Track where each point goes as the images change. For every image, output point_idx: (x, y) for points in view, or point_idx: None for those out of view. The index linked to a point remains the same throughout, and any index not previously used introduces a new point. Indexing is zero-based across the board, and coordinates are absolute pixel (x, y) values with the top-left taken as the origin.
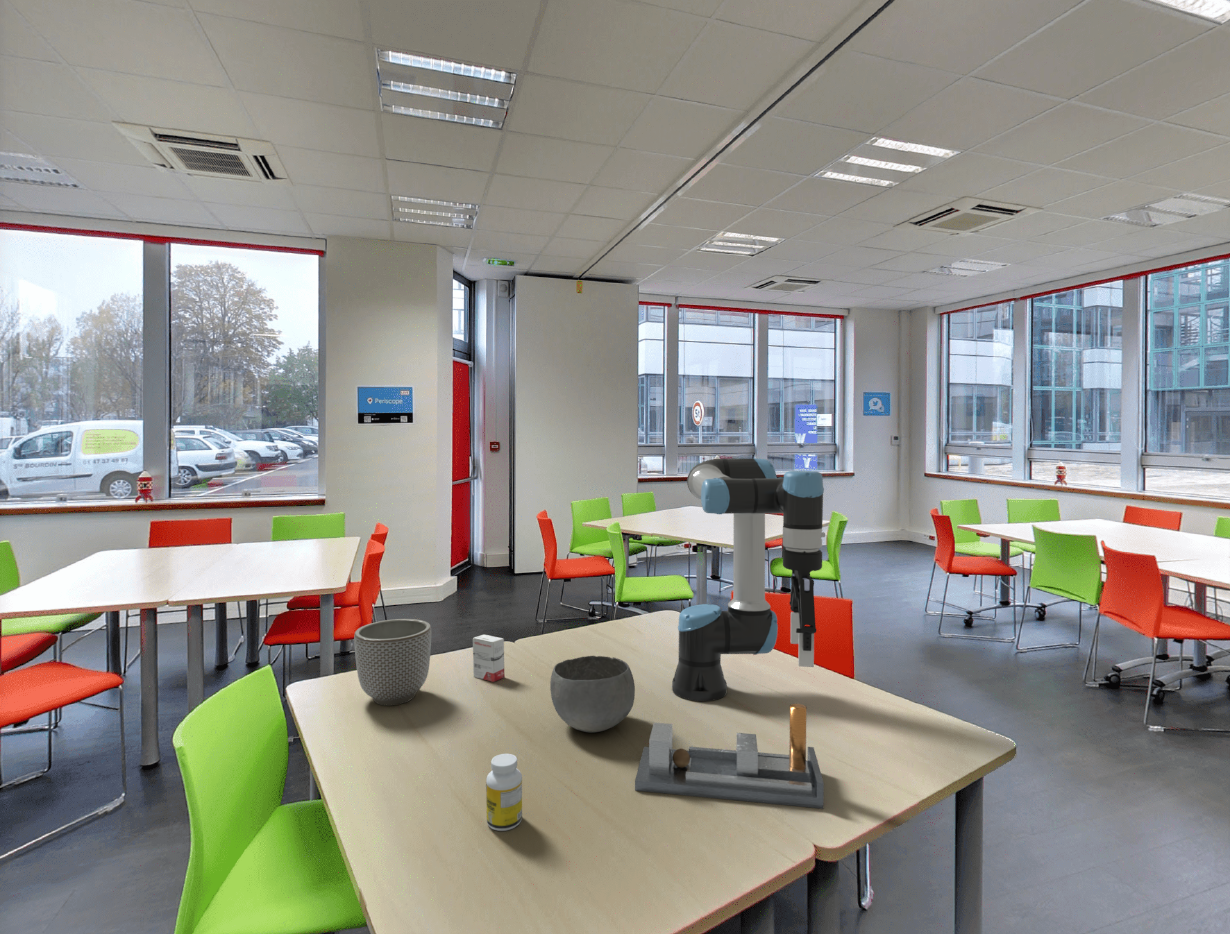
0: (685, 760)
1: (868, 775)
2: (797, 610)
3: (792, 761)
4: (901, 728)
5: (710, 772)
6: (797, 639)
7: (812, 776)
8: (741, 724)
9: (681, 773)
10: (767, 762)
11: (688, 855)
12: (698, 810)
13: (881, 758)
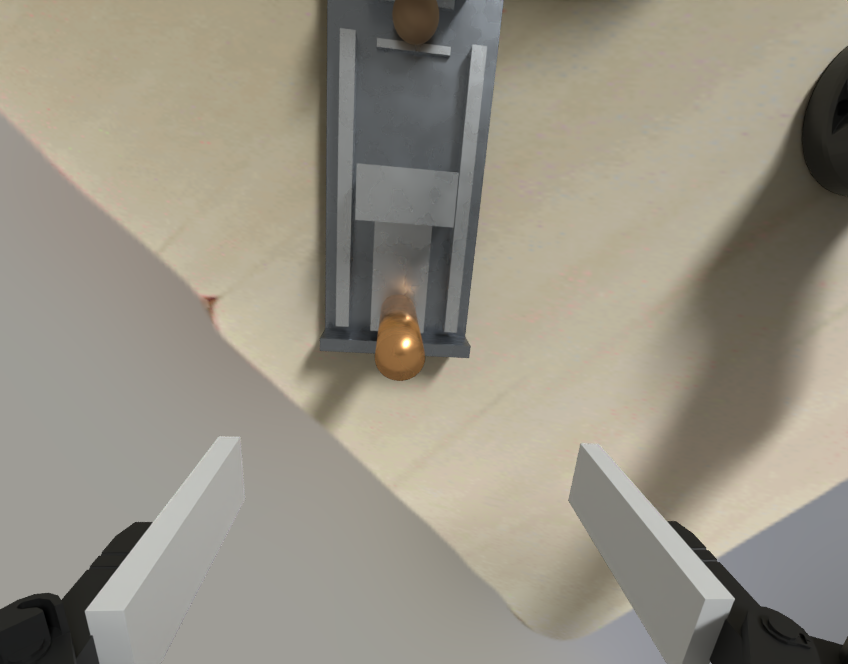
0: (395, 26)
1: (450, 431)
2: (731, 658)
3: (386, 302)
4: None
5: (394, 107)
6: (585, 488)
7: None
8: (663, 216)
9: (381, 25)
10: (405, 247)
11: (112, 42)
12: (277, 75)
13: (511, 465)
